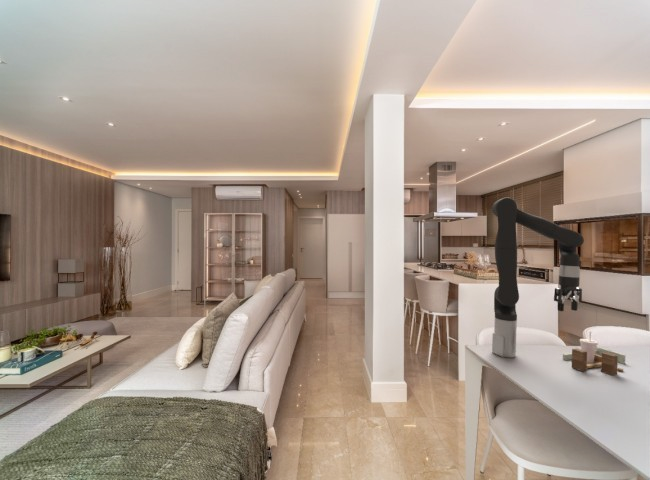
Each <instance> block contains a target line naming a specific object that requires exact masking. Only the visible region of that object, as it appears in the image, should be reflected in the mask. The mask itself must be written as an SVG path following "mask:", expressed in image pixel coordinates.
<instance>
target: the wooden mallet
mask: <svg viewBox="0 0 650 480" xmlns="http://www.w3.org/2000/svg"><path fill="white" fill-rule="evenodd" d="M571 353H572V359H571V368H572V369H575V370H578V371H581V372H584V371H587V369H592V368H593V369H594V368H600V367H601V363H602V356H600V355H597V354H595V357H594V362H593V363H587V351H584V350H581V349H580V348H577V347H575V348H572V350H571Z"/></svg>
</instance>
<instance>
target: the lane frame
mask: <svg viewBox="0 0 650 480" xmlns="http://www.w3.org/2000/svg"><path fill="white" fill-rule="evenodd" d="M604 352H608V353H611V354H614V355H617V356H618V363H619V364H623V365H625V364H626V355H625V354H623V353H620V352H617V351H612V350H609V349H606V348H603V347H599V346H597V347H596V352H595V354H597V355H600V356H602V353H604ZM562 360H563V361H567V360H569V361H570V360H572V352H569V353H563V354H562Z"/></svg>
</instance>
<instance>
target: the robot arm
mask: <svg viewBox="0 0 650 480" xmlns="http://www.w3.org/2000/svg"><path fill="white" fill-rule="evenodd" d="M491 211H492V214H493V215H494V216H496V217H497V232H496V237H495V241H494V259H495V264H496V269H497V273H498V286H497V287H496V288H495V290H494V294H493V295H494V296H493V299H494V301H493V304H494V305H493V311H494V328H493V331H494V332H493V333H492V339H491V340H492V343H491V346H492V347H491V353H493V354H494V355H497V356H499V357H502V358H516V356H517V327H518V325H517V324H518V315H517V311H516V310H517V309H516V308H517V307H516V304H517V303H519V302H518V301H519V299H520V292H519V285H518V280H517V279H518V276H517V269H518V243H517V241H518V240H517V232H516V231H517V229H516V227H517V226H516V225H517V224H519V225H521V226H522V227H525V228H527V229H529V230H531V231H533V232H535V233H538V234H539V235H541V236H542V237H546V238H548V239H551V240H554V241H558V250H559V253H560V255H559V256H560V260H559V270H558V285H559V286H560V288H558V287H555V288H554V296H553V301H554V302H556V303H557V311H558V312H564V309H565V301H566V300H568V299H570V300H571V304H570V305H571V307H570V310H571V311H574V312H575V311H578V305H579V303H580V302H582V301H583V289H582V288H580V278H581V269H580V266H581V265H580V264H581V261H580V260H581V258H580V257H581V256H580V255H579V254H578V252H577V248H578V247H581V246H582V245H583V244H584V241H585V238H584V237H583V235H582V234H580V232H577V231H575V230H572V229H570V228H566V227H564V226H561V225H558V224H556V223H555V222H553V221H550V220H549V219H546V218H544V217H540V216H537V215H534V214H531V213H528V212H526V211H523V210H522V209H519V208H518V205H517V202H516V201H515V199H513V198H511V197H503V198H501V199H498V200H496V201H495V202H494V203H493V205H492V207H491Z"/></svg>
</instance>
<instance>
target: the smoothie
mask: <svg viewBox="0 0 650 480" xmlns="http://www.w3.org/2000/svg"><path fill="white" fill-rule="evenodd" d="M588 336H589V337H588V338H579V342H580V348H581V349H580V350H584V351H587V364H592V363H595V361H594V357H595V352H596V347H598V346H599V343H598V341H596V340H593V339H592V331H589V335H588Z"/></svg>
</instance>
